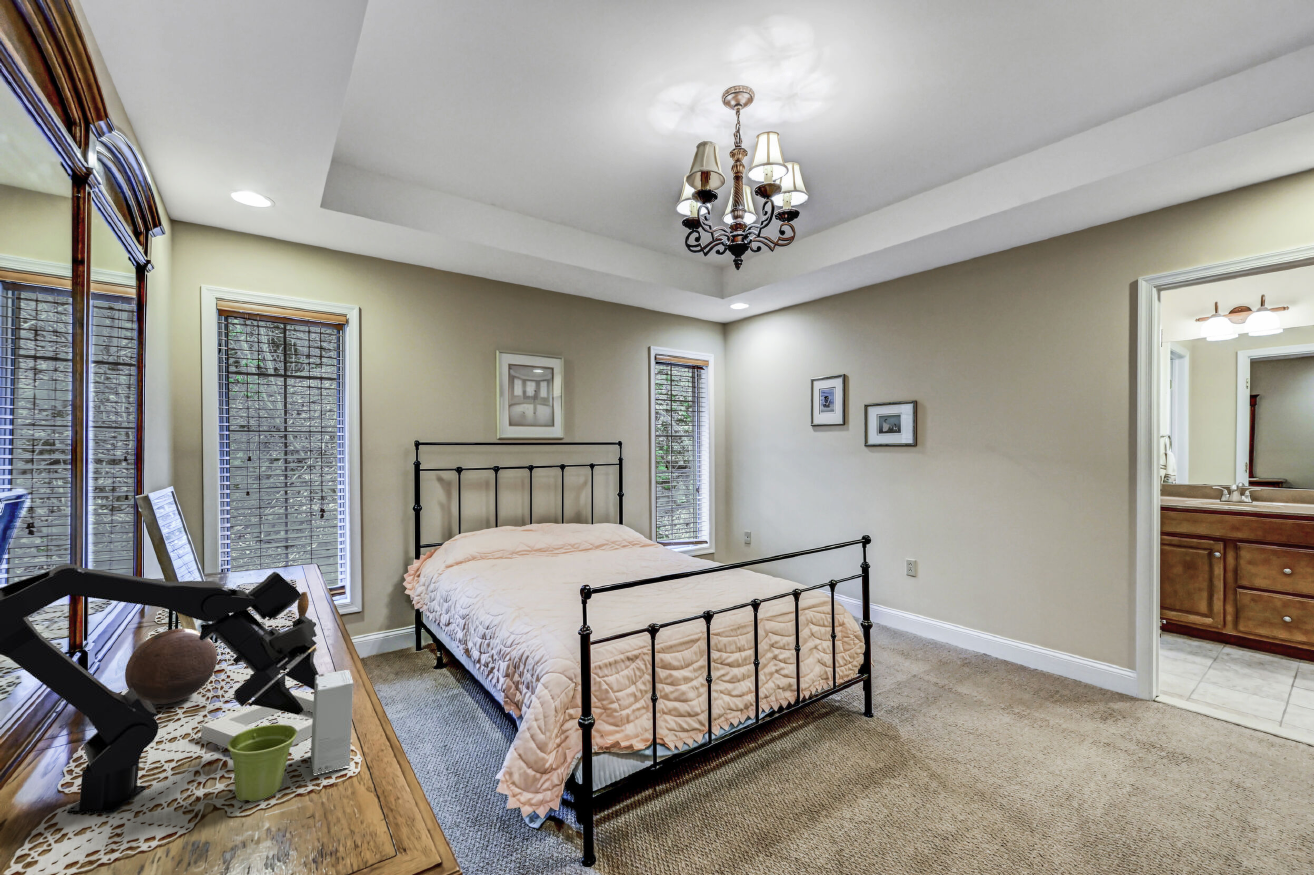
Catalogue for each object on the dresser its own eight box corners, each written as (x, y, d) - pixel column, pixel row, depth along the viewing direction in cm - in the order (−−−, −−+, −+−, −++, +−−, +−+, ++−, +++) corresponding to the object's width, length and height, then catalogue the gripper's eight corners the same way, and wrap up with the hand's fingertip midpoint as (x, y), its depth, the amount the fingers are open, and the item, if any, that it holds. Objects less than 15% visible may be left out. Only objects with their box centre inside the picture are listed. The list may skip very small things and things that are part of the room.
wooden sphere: (229, 696, 126) (234, 627, 126) (145, 723, 112) (151, 646, 113) (190, 681, 132) (196, 616, 133) (107, 705, 118) (113, 632, 119)
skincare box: (350, 768, 101) (356, 683, 101) (310, 777, 97) (316, 689, 98) (345, 746, 108) (351, 667, 108) (308, 754, 104) (314, 672, 105)
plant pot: (281, 768, 100) (285, 718, 100) (302, 791, 94) (305, 737, 94) (215, 791, 92) (220, 737, 93) (233, 817, 86) (237, 759, 87)
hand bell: (283, 648, 156) (288, 589, 156) (318, 645, 159) (322, 588, 160) (278, 658, 148) (282, 597, 149) (315, 655, 152) (319, 595, 152)
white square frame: (260, 760, 102) (262, 746, 102) (200, 738, 108) (201, 724, 108) (351, 718, 119) (351, 706, 119) (294, 701, 125) (295, 689, 125)
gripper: (260, 622, 93) (329, 689, 94) (308, 594, 111) (365, 650, 113) (202, 672, 91) (273, 739, 93) (260, 634, 110) (319, 691, 111)
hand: (312, 700), depth 102 cm, fingers open, 9 cm apart
